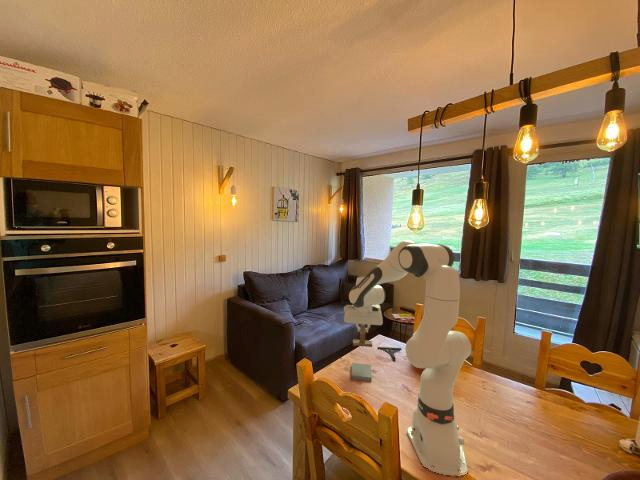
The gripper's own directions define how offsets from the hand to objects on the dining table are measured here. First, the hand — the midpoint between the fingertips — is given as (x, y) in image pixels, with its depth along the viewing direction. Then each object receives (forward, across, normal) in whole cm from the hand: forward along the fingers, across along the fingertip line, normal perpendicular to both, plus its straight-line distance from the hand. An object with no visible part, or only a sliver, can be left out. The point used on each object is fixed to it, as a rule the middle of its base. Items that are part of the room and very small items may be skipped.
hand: (362, 331), depth 140 cm
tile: (+20, 0, +2) cm, 20 cm away
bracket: (+21, +18, +20) cm, 34 cm away
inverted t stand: (+7, 0, 0) cm, 7 cm away
